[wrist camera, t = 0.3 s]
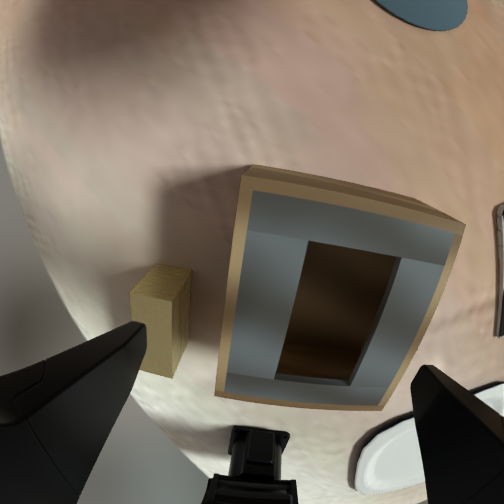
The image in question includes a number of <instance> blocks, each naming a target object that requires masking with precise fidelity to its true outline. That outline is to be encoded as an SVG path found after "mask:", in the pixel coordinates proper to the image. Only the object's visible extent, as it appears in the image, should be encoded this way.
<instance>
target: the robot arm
mask: <svg viewBox="0 0 504 504" xmlns="http://www.w3.org/2000/svg"><path fill="white" fill-rule="evenodd" d="M146 350H147V328H146V325H145V324H144V323H141V322H137V321H131V322H129V323H127V324H125V325H122V326H120V327H118V328H116V329H113V330H111V331H109V332H107V333H104V334H102V335H100V336H98V337H95V338H93V339H91V340H89V341H86V342H84V343H82V344H79V345H77V346H75V347H73V348H70V349H68V350H66V351H64V352H61V353H59V354H57V355H54V356H52V357H50V358H47V359H46V361H45V360H43V361H41V362H38V363H36V364H33V365H31V366H28V367H26V368H23V369H20V370H18V371H15V372H12V373H9V374H6V375H3V376H0V504H77V501H78V499H79V496H80V494H81V492H82V490H83V488H84V486H85V484H86V481H87V479H88V477H89V475H90V473H91V470H92V469H93V466H94V464H95V462H96V460H97V458H98V456H99V454H100V452H101V450H102V448H103V446H104V444H105V442H106V440H107V438H108V436H109V434H110V431H111V429H112V427H113V426H114V424H115V422H116V420H117V418H118V416H119V414H120V412H121V410H122V408H123V406H124V404H125V402H126V400H127V398H128V396H129V394H130V392H131V390H132V387H133V385H134V382H135V380H136V377H137V374H138V371H139V369H140V366H141V364H142V361H143V358H144V356H145V353H146ZM410 389H411V396H412V404H413V412H414V420H415V427H416V432H417V437H418V442H419V447H420V453H421V458H422V464H423V470H424V476H425V483H426V490H427V498H428V504H504V417H503V416H502V415H500V414H499V413H498V412H496V411H495V410H494V409H492V408H491V407H490V406H488V405H487V404H486V403H484V402H483V401H482V400H480V399H479V398H478V397H476V396H475V395H473V394H472V393H471V392H469V391H468V390H467V389H465V388H464V387H463V386H461V385H460V384H458V383H457V382H456V381H454V380H453V379H452V378H450V377H449V376H447V375H446V374H445V373H443V372H442V371H441V370H439V369H438V368H436V367H435V366H434V365H422V366H421V367H420V369H419V371H418V372H417V374H416V376H415V377H414V379H413V381H412V383H411V388H410ZM289 438H290V434H289V433H287V432H277V431H268V430H259V429H252V428H245V427H238V426H235V427H233V429H232V434H231V439H230V445H229V450H228V454H229V455H231V461H230V468H229V474H228V476H225V475H220V474H216V473H214V477H213V478H210V479H209V480H208V485H207V490H206V493H205V495H204V498H203V501H202V503H201V504H298V496H297V486H296V480H281V455H282V453H283V451H284V449H285V447H286V445H287V443H288V440H289Z"/></svg>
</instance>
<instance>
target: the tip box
mask: <svg viewBox="0 0 504 504" xmlns="http://www.w3.org/2000/svg"><path fill="white" fill-rule="evenodd" d="M465 226H466V224H464V223H462V222H460V221H458V220H456V219H455V218H453V217H451V216H449V215H447V214H445V213H443V212H441V211H439V210H437V209H435V208H433V207H431V206H429V205H427V204H425V203H423V202H421V201H419V200H417V199H415V198H411V197H407V196H403V195H400V194H396V193H392V192H388V191H384V190H380V189H376V188H372V187H368V186H363V185H359V184H355V183H350V182H346V181H341V180H336V179H332V178H327V177H322V176H317V175H312V174H306V173H301V172H296V171H290V170H284V169H278V168H272V167H266V166H260V165H252V166H251V167H250V168H249V169H248V170H247V171H246V172H244V173H243V174H242V175H241V182H240V189H239V197H238V204H237V211H236V219H235V226H234V233H233V241H232V249H231V256H230V264H229V272H228V280H227V288H226V296H225V305H224V313H223V322H222V330H221V339H220V348H219V357H218V366H217V375H216V385H215V394H214V396H218V397H223V398H229V399H235V400H241V401H247V402H254V403H261V404H269V405H277V406H286V407H297V408H309V409H324V410H346V411H382V409H383V408H384V406H385V405H386V403H387V401H388V400H389V398H390V397H391V395H392V393H393V392H394V390H395V388H396V387H397V385H398V383H399V382H400V380H401V378H402V376H403V375H404V373H405V371H406V369H407V367H408V366H409V364H410V362H411V360H412V358H413V356H414V354H415V352H416V350H417V349H418V347H419V345H420V343H421V341H422V338H423V336H424V334H425V332H426V330H427V328H428V326H429V324H430V322H431V319H432V317H433V315H434V313H435V310H436V308H437V306H438V303H439V301H440V298H441V296H442V293H443V291H444V288H445V286H446V283H447V281H448V278H449V275H450V273H451V270H452V267H453V264H454V261H455V258H456V255H457V252H458V249H459V246H460V243H461V240H462V236H463V233H464V229H465Z"/></svg>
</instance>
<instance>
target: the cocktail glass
mask: <svg viewBox="0 0 504 504" xmlns="http://www.w3.org/2000/svg"><path fill="white" fill-rule="evenodd" d="M375 1H376V2H377V3H378V4H379V5H381V6H382V7H383V8H384V9H386V10H387V11H389V12H390V13H392V14H393V15H395V16H396V17H398V18H400V19H402V20H404V21H406V22H408V23H410V24H413V25H415V26H417V27H421V28H424V29H428V30H434V31H446V30H451V29H454V28H456V27H458V26H459V25H460V24H462V22H463V21H464V19H465V18H466V15H467V8H468V5H467V0H375Z"/></svg>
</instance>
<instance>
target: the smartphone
mask: <svg viewBox="0 0 504 504" xmlns="http://www.w3.org/2000/svg"><path fill="white" fill-rule="evenodd" d="M497 226H498V231H497V234H498V256H499V259H500V284H499V306H498V319H497V329H496V335H497V337H498V338H499V339H500V338H502V337H503V336H504V204H502V205H500V206H499V208H498V210H497Z"/></svg>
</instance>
